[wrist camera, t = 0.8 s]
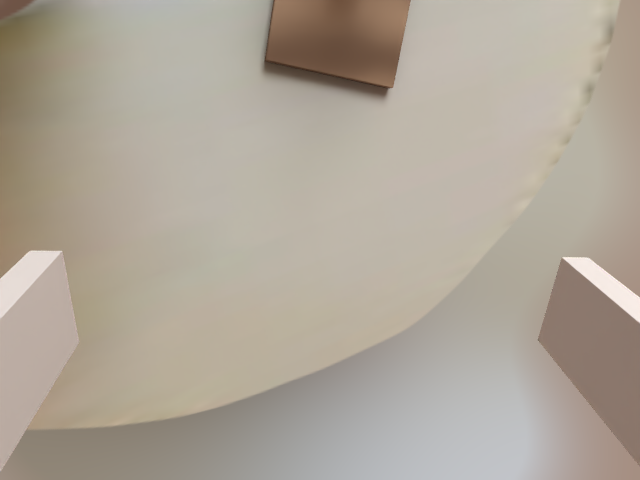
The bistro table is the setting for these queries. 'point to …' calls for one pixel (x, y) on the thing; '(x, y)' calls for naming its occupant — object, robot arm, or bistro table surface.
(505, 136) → the bistro table surface
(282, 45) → the l-shaped wooden stand
